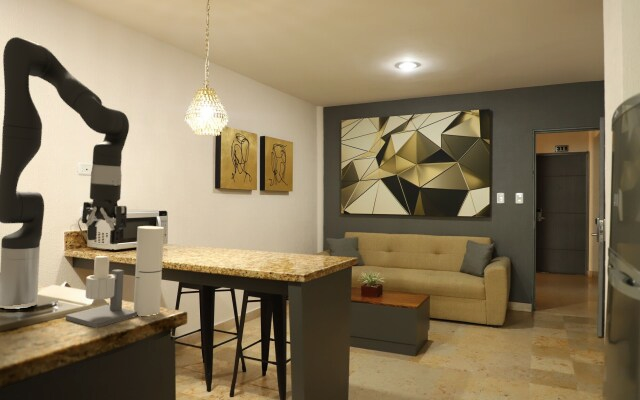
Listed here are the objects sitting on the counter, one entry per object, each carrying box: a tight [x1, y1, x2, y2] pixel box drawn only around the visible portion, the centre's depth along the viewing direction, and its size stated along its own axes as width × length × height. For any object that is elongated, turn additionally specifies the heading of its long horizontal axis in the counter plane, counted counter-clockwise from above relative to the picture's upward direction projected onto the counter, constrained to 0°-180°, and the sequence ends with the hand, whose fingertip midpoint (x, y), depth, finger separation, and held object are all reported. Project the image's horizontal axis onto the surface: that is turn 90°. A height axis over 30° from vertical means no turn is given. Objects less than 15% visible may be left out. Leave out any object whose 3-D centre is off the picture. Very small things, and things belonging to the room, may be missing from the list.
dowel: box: [93, 255, 110, 279], centre depth 123 cm, size 4×4×10 cm
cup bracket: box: [65, 268, 138, 329], centre depth 124 cm, size 12×13×12 cm
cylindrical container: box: [133, 225, 165, 317], centre depth 130 cm, size 7×7×25 cm
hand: (102, 241), depth 122 cm, fingers open, 8 cm apart
